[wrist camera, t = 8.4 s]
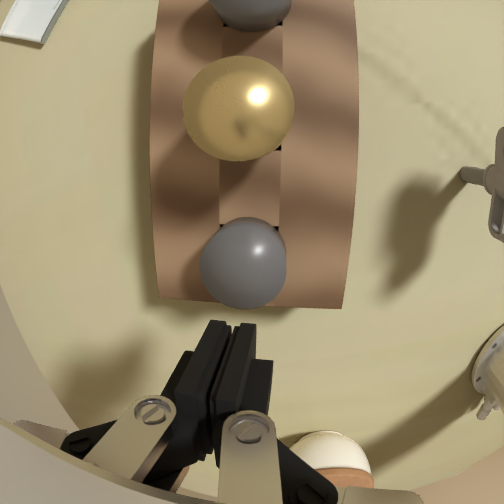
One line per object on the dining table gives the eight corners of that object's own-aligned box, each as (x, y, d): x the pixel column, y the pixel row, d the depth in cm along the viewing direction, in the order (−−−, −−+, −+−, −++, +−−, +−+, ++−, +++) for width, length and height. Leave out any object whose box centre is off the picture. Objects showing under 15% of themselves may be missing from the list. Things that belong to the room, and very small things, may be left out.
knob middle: (289, 159, 21) (293, 163, 13) (217, 158, 21) (181, 161, 14) (291, 89, 19) (294, 56, 12) (218, 89, 19) (184, 59, 12)
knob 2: (284, 266, 26) (283, 311, 19) (224, 262, 26) (201, 305, 19) (287, 205, 24) (288, 229, 17) (224, 203, 25) (198, 226, 17)
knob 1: (290, 54, 20) (292, 13, 13) (226, 54, 21) (202, 16, 13) (290, 3, 19) (290, -46, 11) (228, 4, 19) (207, -42, 12)
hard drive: (73, -16, 18) (23, -15, 17) (39, 42, 21) (-4, 35, 20) (80, -12, 20) (30, -12, 19) (47, 45, 22) (4, 37, 22)
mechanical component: (448, 223, 24) (509, 258, 15) (456, 118, 21) (524, 112, 12) (470, 226, 24) (532, 260, 15) (479, 125, 21) (546, 124, 11)
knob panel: (330, 277, 27) (341, 308, 22) (182, 269, 29) (159, 297, 23) (338, 2, 19) (349, -30, 13) (185, 4, 20) (163, -24, 15)
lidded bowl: (259, 438, 36) (250, 505, 25) (341, 405, 32) (351, 478, 22) (305, 472, 38) (305, 528, 28) (377, 444, 35) (389, 503, 24)
